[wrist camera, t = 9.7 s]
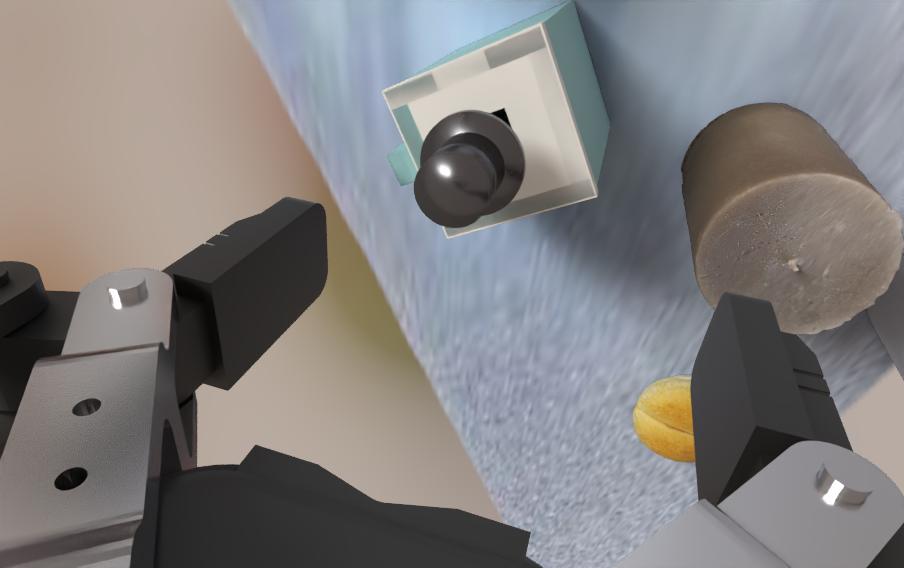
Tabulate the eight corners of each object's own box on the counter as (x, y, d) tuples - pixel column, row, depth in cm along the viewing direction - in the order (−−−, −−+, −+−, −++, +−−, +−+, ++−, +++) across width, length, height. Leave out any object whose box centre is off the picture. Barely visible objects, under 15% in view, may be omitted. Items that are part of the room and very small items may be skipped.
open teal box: (612, 125, 42) (597, 197, 31) (473, 171, 47) (416, 247, 36) (574, -4, 39) (541, 23, 27) (428, 60, 44) (349, 105, 32)
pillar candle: (654, 159, 43) (655, 254, 30) (785, 69, 37) (851, 140, 25) (728, 254, 45) (757, 378, 33) (863, 181, 39) (958, 297, 27)
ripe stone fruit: (750, 388, 50) (757, 420, 47) (704, 454, 55) (708, 486, 52) (657, 356, 51) (658, 385, 48) (620, 423, 56) (618, 454, 53)
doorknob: (580, 124, 40) (537, 235, 25) (500, 151, 42) (419, 266, 28) (552, 37, 37) (487, 103, 23) (470, 71, 40) (364, 150, 25)
